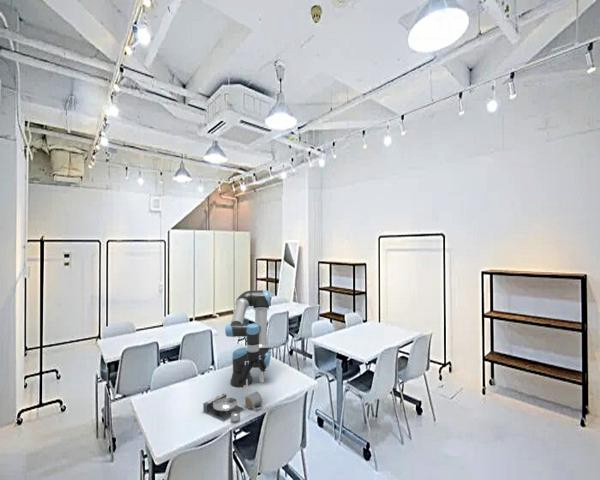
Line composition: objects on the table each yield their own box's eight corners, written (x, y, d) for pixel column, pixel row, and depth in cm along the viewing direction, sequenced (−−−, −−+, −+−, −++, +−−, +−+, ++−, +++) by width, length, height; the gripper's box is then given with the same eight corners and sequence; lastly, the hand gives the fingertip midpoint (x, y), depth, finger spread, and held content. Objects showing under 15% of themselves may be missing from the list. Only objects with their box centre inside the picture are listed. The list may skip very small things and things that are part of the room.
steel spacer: (235, 417, 186) (235, 410, 186) (242, 419, 183) (241, 412, 183) (229, 421, 182) (229, 414, 182) (235, 424, 179) (235, 416, 179)
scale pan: (226, 399, 202) (226, 395, 202) (242, 406, 194) (242, 401, 194) (207, 409, 191) (207, 404, 191) (223, 417, 183) (223, 412, 183)
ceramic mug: (244, 406, 198) (243, 394, 198) (254, 401, 204) (254, 389, 203) (254, 413, 190) (254, 400, 190) (265, 408, 196) (265, 395, 196)
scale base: (223, 401, 205) (223, 392, 205) (243, 409, 194) (243, 400, 194) (203, 411, 193) (203, 402, 193) (223, 421, 182) (223, 411, 182)
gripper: (262, 344, 210) (263, 377, 210) (233, 355, 190) (234, 392, 190) (271, 346, 205) (272, 379, 205) (242, 357, 185) (243, 395, 185)
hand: (253, 385), depth 197 cm, fingers open, 13 cm apart
